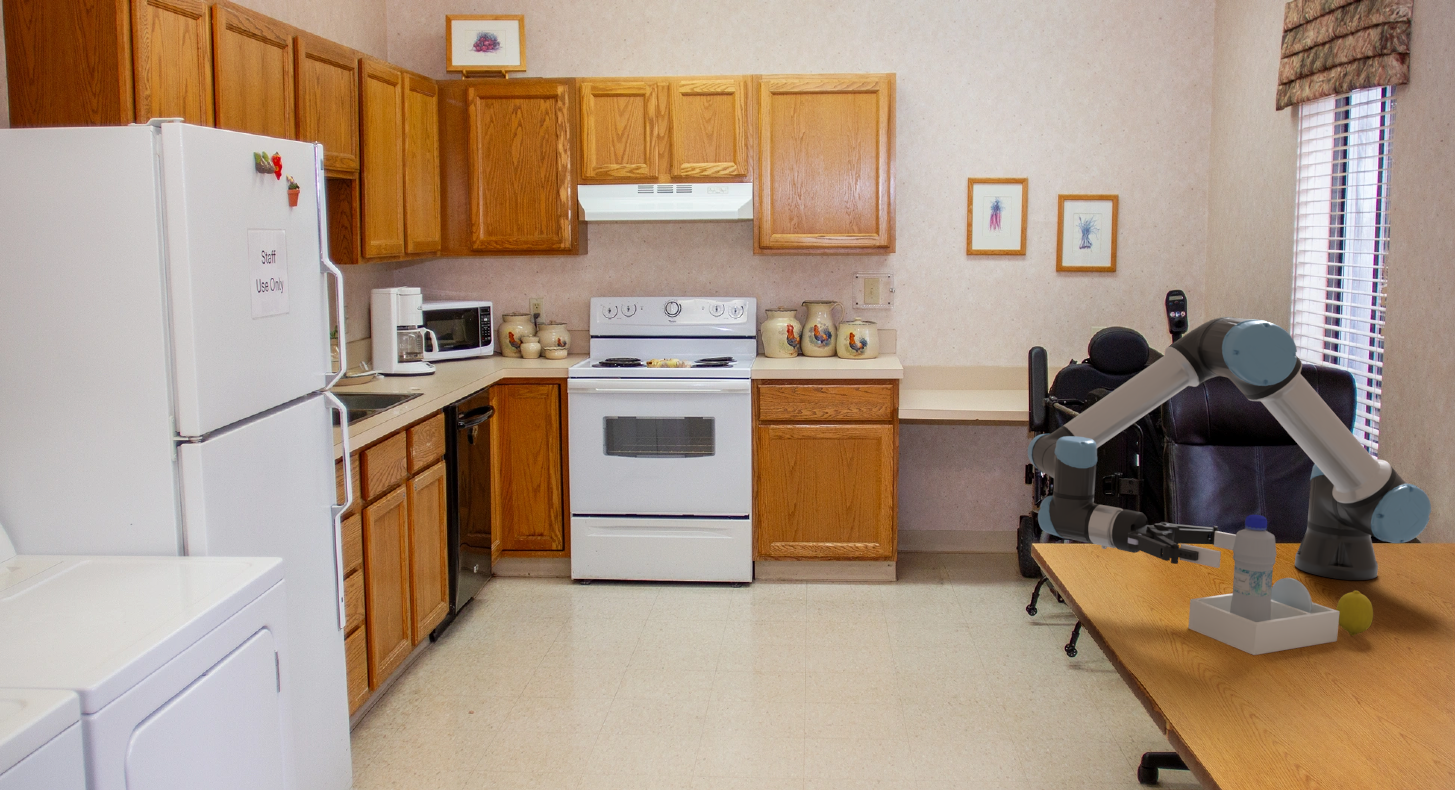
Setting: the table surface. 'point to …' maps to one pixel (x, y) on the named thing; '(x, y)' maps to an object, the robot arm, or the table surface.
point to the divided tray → (1287, 628)
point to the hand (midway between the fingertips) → (1236, 552)
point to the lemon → (1355, 612)
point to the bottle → (1253, 570)
